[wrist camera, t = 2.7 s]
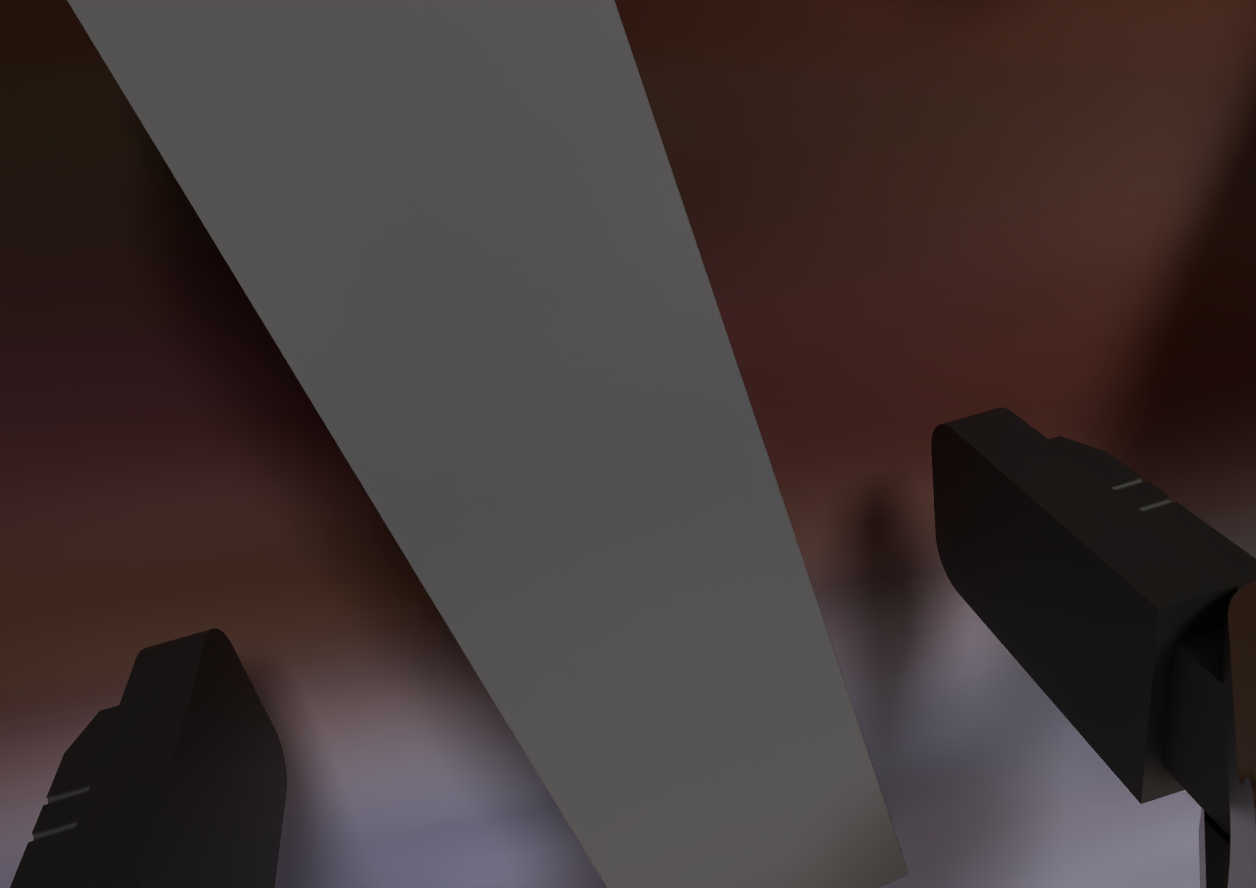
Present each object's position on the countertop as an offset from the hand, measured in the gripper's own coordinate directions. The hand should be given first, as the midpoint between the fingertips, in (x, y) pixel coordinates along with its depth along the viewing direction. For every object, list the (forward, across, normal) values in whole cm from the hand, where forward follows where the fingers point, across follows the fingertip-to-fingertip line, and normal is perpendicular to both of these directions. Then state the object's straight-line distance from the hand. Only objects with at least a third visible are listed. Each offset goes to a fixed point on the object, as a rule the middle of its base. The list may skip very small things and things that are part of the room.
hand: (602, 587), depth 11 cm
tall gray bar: (+2, 0, -2) cm, 3 cm away
